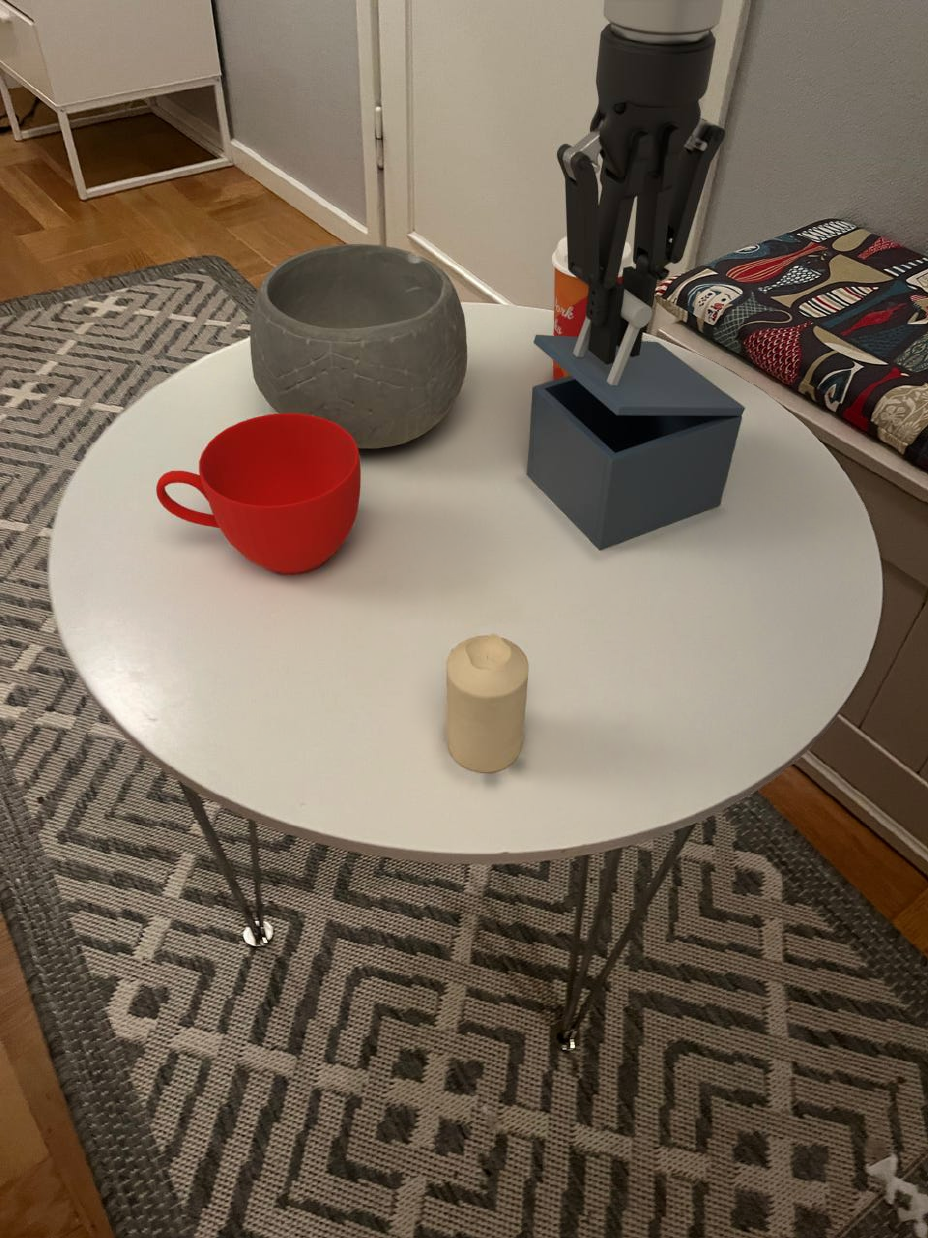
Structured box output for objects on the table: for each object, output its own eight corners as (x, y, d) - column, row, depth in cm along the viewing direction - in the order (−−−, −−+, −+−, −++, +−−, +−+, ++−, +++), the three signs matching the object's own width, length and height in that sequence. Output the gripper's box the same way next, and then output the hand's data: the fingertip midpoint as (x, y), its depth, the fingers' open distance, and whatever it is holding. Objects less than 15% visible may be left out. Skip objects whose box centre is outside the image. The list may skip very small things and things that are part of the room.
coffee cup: (545, 358, 108) (555, 226, 97) (619, 363, 107) (637, 231, 96) (539, 398, 102) (549, 262, 91) (617, 405, 101) (636, 268, 90)
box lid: (616, 415, 75) (654, 323, 70) (532, 342, 82) (561, 255, 78) (741, 415, 82) (782, 332, 78) (654, 349, 90) (687, 270, 86)
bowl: (220, 436, 97) (191, 296, 86) (349, 348, 109) (338, 216, 98) (387, 510, 88) (378, 366, 78) (506, 406, 101) (512, 269, 90)
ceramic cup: (183, 509, 88) (159, 417, 81) (366, 500, 89) (358, 408, 82) (165, 608, 79) (136, 514, 72) (369, 596, 80) (360, 502, 73)
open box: (599, 550, 85) (612, 460, 78) (526, 474, 92) (532, 386, 85) (720, 505, 89) (742, 416, 82) (640, 436, 97) (655, 349, 90)
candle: (435, 759, 69) (433, 667, 62) (463, 704, 72) (464, 611, 65) (507, 783, 67) (513, 692, 60) (532, 726, 71) (541, 633, 64)
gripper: (712, 0, 67) (658, 312, 84) (531, 25, 62) (513, 352, 79) (785, 27, 62) (713, 351, 79) (597, 56, 57) (562, 397, 74)
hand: (613, 351), depth 79 cm, fingers closed on box lid, 2 cm apart
